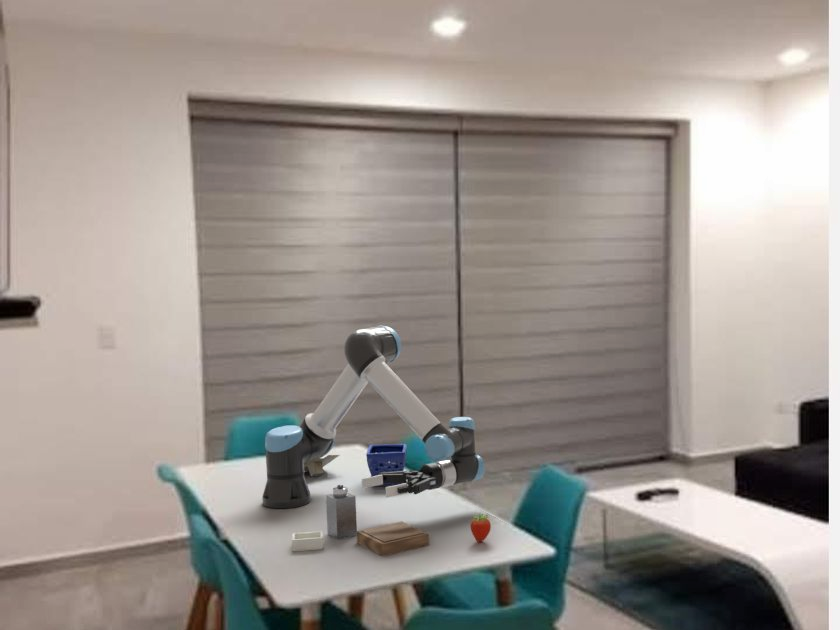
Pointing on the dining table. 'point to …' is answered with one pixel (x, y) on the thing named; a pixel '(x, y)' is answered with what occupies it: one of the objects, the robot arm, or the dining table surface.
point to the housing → (341, 513)
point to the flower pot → (386, 459)
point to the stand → (392, 538)
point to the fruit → (480, 527)
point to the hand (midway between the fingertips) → (374, 487)
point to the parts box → (307, 541)
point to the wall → (318, 465)
